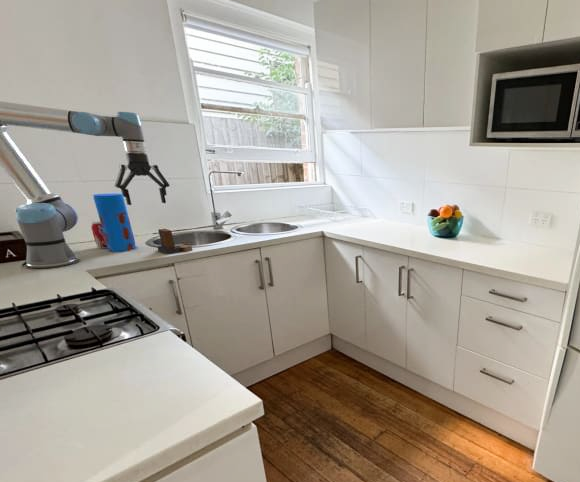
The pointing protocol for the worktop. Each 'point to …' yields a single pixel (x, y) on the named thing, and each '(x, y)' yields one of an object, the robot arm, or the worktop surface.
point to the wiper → (167, 242)
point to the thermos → (115, 221)
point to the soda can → (99, 235)
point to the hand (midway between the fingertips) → (147, 203)
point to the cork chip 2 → (185, 248)
